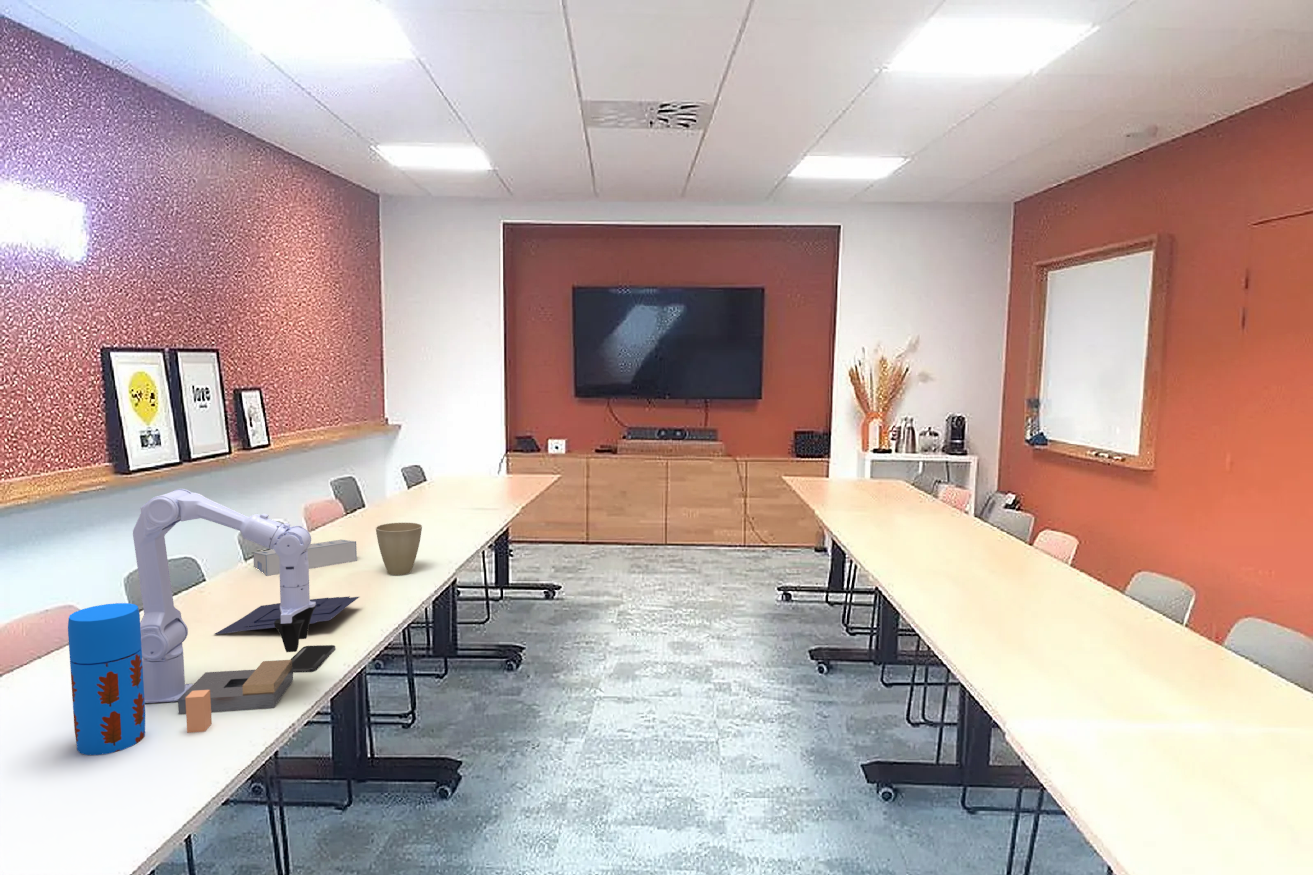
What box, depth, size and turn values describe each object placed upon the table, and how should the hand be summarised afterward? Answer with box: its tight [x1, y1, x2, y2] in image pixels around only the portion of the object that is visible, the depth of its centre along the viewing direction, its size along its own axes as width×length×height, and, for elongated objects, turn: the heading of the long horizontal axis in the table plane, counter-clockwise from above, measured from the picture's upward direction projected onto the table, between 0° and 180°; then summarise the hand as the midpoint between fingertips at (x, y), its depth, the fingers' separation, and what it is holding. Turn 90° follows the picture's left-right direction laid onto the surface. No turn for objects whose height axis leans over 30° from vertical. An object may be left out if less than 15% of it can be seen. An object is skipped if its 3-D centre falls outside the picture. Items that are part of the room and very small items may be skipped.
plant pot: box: [375, 522, 423, 576], centre depth 259 cm, size 15×15×16 cm
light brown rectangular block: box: [185, 690, 213, 734], centre depth 149 cm, size 3×3×7 cm
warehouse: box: [253, 539, 358, 577], centre depth 269 cm, size 30×14×8 cm, turn 133°
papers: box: [214, 595, 360, 635], centre depth 211 cm, size 24×30×4 cm
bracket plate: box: [177, 659, 294, 715], centre depth 163 cm, size 18×14×5 cm
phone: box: [289, 644, 336, 674], centre depth 184 cm, size 8×1×15 cm
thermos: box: [67, 602, 146, 756], centre depth 143 cm, size 11×11×25 cm
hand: (296, 644), depth 166 cm, fingers open, 7 cm apart
